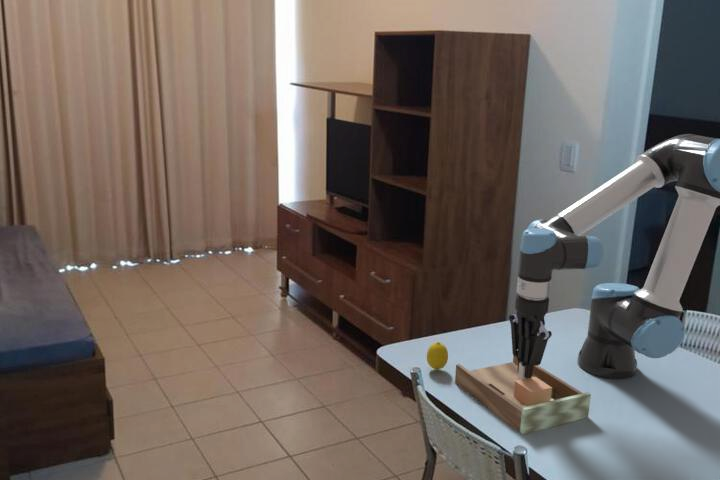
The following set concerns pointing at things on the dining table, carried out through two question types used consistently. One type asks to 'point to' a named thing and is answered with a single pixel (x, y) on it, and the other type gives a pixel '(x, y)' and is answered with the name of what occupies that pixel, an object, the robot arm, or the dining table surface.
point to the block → (532, 391)
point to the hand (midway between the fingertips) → (523, 387)
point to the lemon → (437, 356)
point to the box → (498, 396)
